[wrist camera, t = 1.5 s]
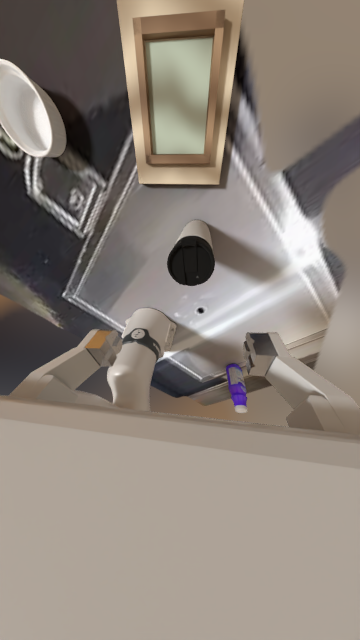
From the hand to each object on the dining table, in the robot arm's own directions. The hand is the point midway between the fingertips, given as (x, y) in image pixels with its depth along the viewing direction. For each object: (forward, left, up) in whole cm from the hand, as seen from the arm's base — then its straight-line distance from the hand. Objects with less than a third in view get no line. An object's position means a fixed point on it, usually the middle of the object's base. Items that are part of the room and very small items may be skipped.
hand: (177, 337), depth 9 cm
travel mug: (0, 0, -32) cm, 32 cm away
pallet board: (+17, +4, -32) cm, 37 cm away
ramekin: (+16, +28, -33) cm, 46 cm away
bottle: (-51, -21, -32) cm, 64 cm away
